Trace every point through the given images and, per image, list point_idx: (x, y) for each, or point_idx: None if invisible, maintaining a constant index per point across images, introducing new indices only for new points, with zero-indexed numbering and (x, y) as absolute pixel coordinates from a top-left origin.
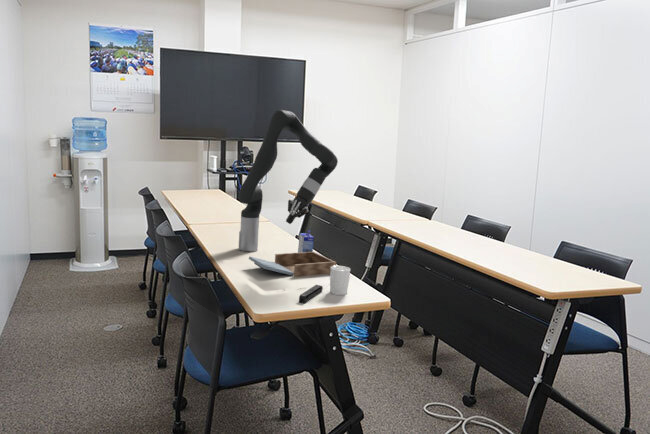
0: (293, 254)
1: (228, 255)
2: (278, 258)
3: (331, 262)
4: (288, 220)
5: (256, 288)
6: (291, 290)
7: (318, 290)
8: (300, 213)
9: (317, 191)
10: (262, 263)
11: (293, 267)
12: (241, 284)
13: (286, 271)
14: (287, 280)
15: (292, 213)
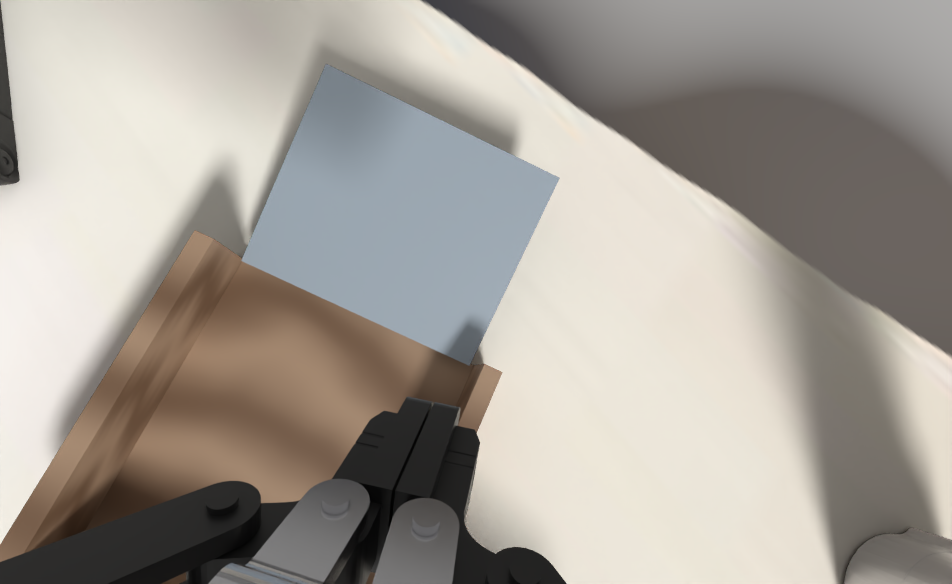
0: None
1: (839, 379)
2: (473, 381)
3: (11, 528)
4: (406, 409)
5: (298, 10)
6: (138, 93)
7: None
8: (64, 547)
9: None
10: (390, 110)
11: (365, 418)
12: (393, 14)
13: (264, 208)
14: None
15: (356, 511)
